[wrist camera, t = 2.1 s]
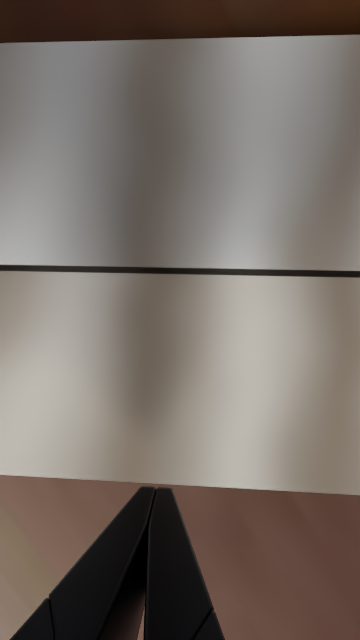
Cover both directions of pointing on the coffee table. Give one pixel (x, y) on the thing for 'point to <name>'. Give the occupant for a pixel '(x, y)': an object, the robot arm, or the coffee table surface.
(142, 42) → the plank
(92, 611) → the robot arm
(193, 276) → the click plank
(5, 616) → the coffee table surface
